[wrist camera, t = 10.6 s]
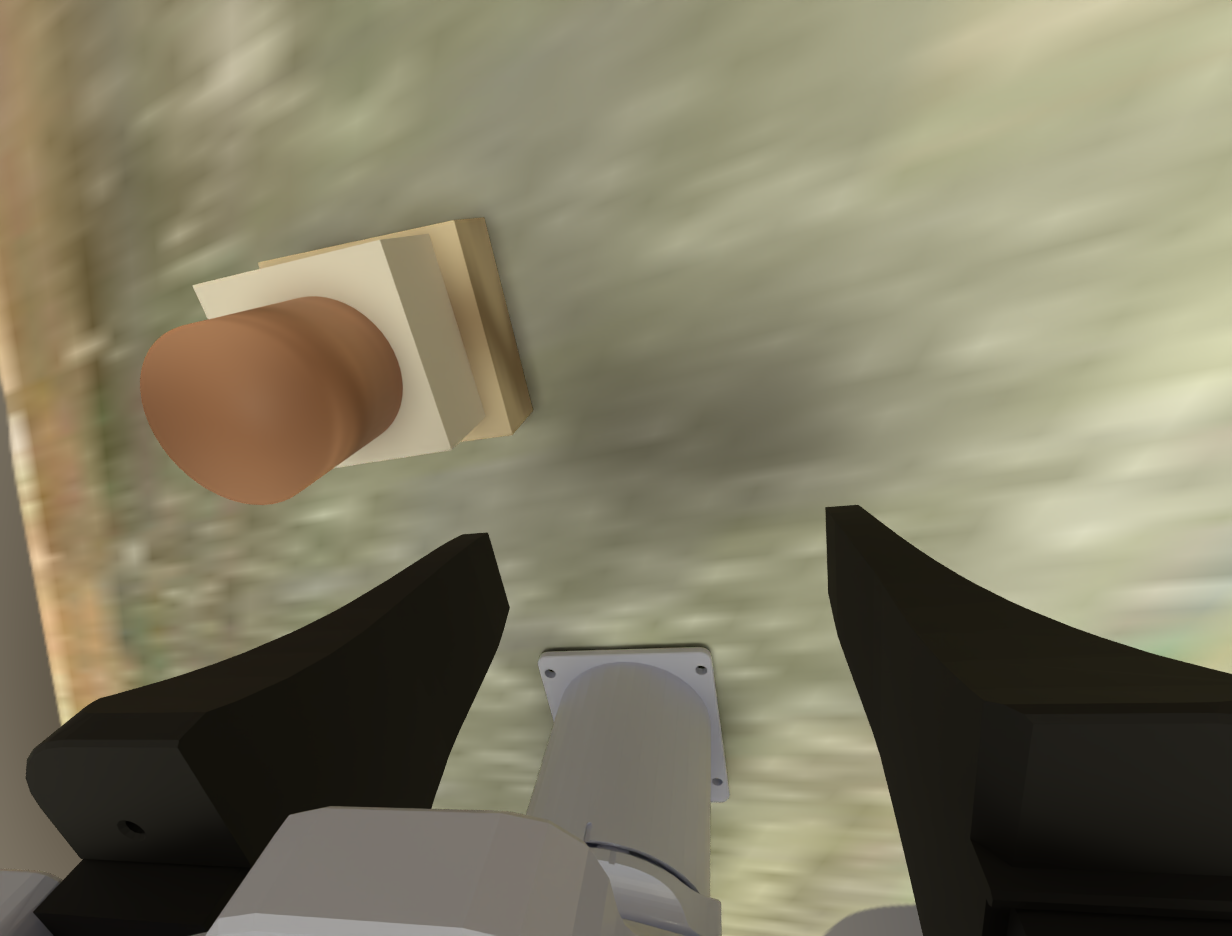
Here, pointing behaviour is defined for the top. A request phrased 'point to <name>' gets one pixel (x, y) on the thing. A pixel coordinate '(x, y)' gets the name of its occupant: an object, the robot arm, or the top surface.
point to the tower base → (472, 318)
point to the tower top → (406, 315)
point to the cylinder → (270, 395)
